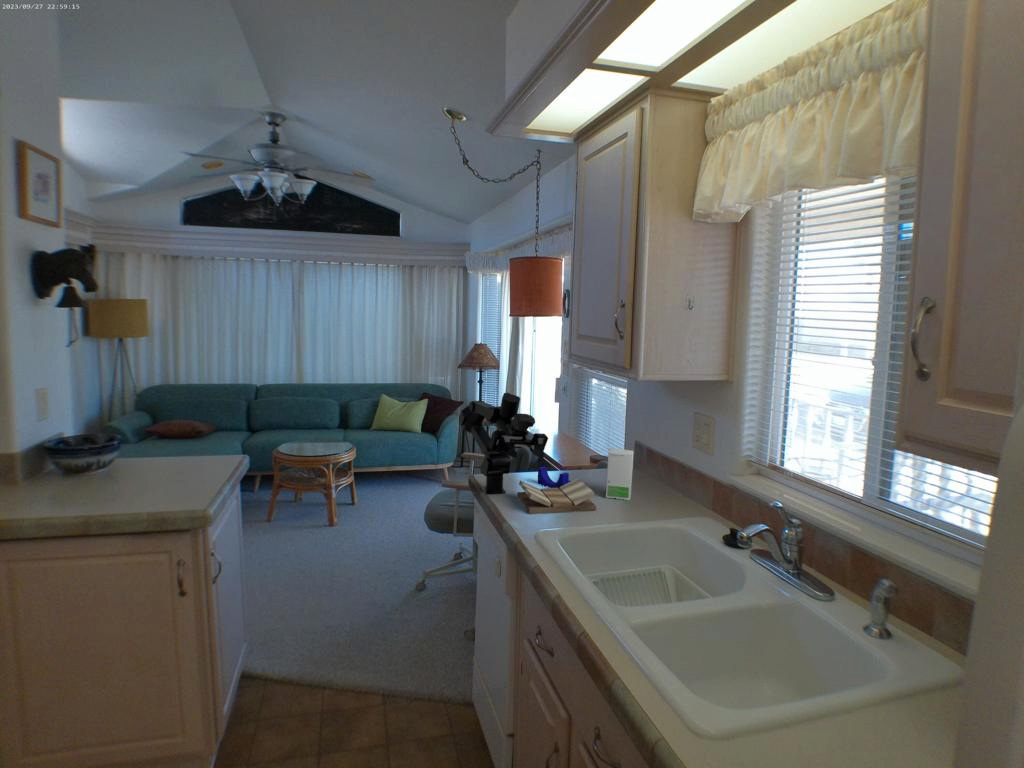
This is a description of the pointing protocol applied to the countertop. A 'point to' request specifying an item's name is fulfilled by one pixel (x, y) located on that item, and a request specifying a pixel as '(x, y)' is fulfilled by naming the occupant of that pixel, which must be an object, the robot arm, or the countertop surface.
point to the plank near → (534, 493)
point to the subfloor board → (540, 508)
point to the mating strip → (556, 497)
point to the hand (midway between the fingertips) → (530, 457)
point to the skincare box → (619, 474)
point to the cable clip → (546, 481)
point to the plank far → (577, 491)
